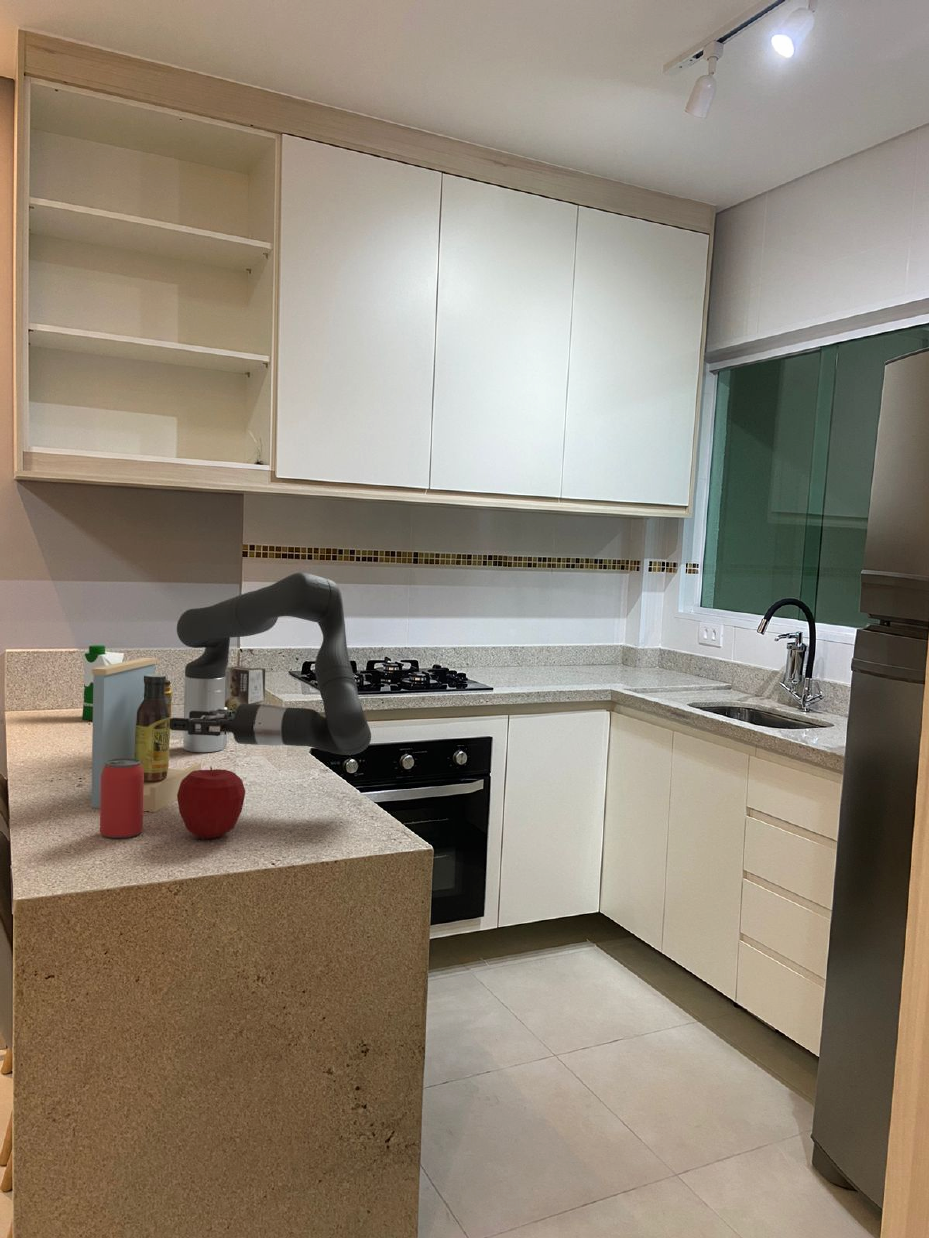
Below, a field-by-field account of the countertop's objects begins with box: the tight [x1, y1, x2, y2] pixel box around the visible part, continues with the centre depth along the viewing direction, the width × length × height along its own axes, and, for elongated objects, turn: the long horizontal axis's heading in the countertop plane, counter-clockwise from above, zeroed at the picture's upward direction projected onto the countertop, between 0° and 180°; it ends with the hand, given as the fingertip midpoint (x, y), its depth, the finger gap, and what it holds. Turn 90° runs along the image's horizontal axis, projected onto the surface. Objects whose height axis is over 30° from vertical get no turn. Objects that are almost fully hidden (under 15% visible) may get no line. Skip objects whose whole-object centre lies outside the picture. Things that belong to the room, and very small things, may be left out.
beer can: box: [99, 758, 144, 839], centre depth 150 cm, size 7×7×12 cm
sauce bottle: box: [134, 673, 172, 782], centre depth 174 cm, size 6×6×20 cm
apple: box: [177, 766, 246, 839], centre depth 151 cm, size 11×11×12 cm
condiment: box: [165, 679, 173, 718], centre depth 243 cm, size 7×8×12 cm
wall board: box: [90, 657, 202, 813], centre depth 173 cm, size 20×12×25 cm, turn 173°
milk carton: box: [81, 644, 125, 722], centre depth 249 cm, size 9×9×20 cm
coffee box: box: [225, 665, 266, 710], centre depth 246 cm, size 9×6×16 cm
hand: (180, 719), depth 173 cm, fingers open, 8 cm apart
